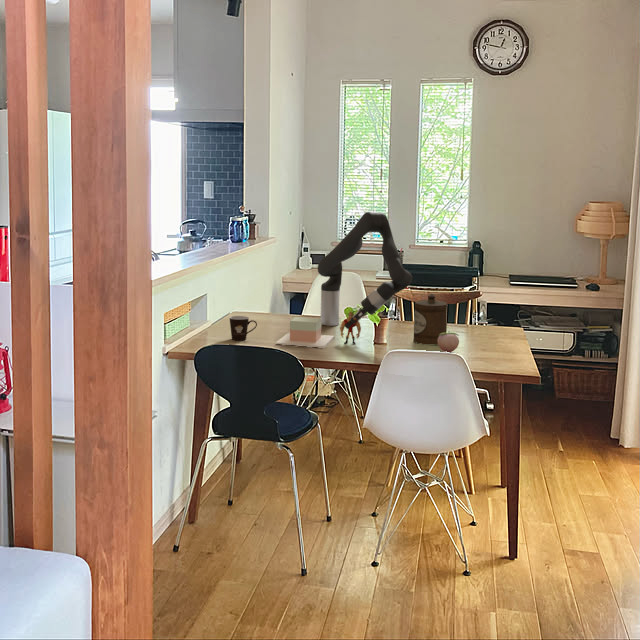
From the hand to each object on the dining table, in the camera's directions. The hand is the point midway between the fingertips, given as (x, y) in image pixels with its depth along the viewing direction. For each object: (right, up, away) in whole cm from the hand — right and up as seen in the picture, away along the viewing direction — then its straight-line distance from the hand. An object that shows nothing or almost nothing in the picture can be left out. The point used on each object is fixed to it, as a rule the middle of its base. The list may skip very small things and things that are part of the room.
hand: (347, 325), depth 361 cm
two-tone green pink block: (-19, -7, +4) cm, 20 cm away
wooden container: (+38, -8, +9) cm, 40 cm away
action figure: (+1, -8, +1) cm, 8 cm away
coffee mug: (-48, -7, +4) cm, 48 cm away
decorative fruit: (+43, -12, -13) cm, 46 cm away
